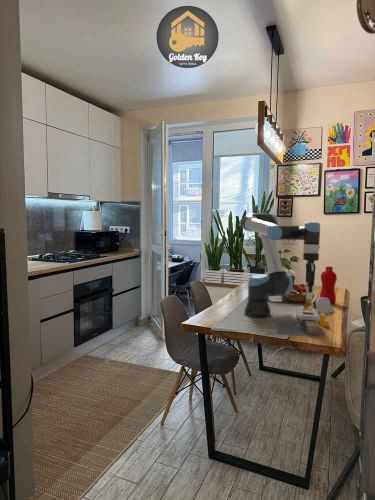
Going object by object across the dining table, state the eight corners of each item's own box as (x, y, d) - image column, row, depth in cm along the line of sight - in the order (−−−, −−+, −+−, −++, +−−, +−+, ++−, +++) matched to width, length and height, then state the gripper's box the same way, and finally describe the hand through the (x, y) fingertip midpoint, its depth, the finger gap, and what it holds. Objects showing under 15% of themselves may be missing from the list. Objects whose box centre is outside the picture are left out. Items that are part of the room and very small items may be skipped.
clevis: (301, 334, 167) (302, 320, 166) (295, 322, 187) (296, 309, 186) (323, 336, 165) (324, 322, 165) (315, 323, 185) (315, 311, 185)
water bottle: (329, 300, 243) (331, 265, 241) (337, 304, 232) (339, 267, 230) (316, 300, 243) (318, 265, 240) (323, 304, 232) (325, 267, 229)
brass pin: (305, 305, 177) (306, 282, 176) (304, 304, 181) (305, 281, 180) (313, 306, 177) (314, 283, 176) (311, 304, 181) (312, 281, 180)
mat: (278, 334, 168) (278, 334, 168) (274, 321, 190) (274, 320, 190) (326, 338, 164) (326, 337, 164) (316, 324, 187) (316, 323, 187)
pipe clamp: (328, 326, 183) (328, 314, 182) (320, 327, 182) (320, 315, 182) (318, 320, 194) (318, 309, 194) (310, 320, 194) (311, 309, 194)
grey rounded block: (321, 315, 204) (316, 298, 205) (314, 316, 207) (309, 300, 209) (334, 311, 215) (330, 295, 216) (327, 312, 218) (323, 296, 220)
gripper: (322, 254, 168) (319, 301, 170) (315, 251, 184) (313, 294, 186) (306, 253, 170) (303, 300, 172) (301, 251, 185) (299, 294, 187)
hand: (309, 297), depth 179 cm, fingers closed on brass pin, 2 cm apart
